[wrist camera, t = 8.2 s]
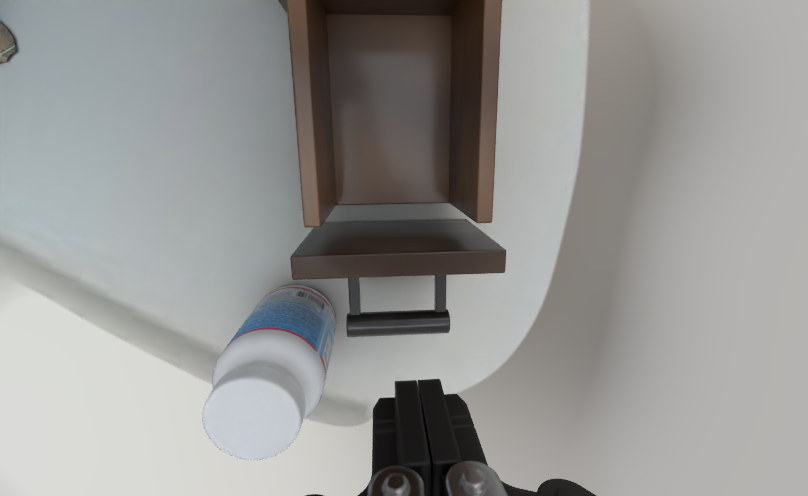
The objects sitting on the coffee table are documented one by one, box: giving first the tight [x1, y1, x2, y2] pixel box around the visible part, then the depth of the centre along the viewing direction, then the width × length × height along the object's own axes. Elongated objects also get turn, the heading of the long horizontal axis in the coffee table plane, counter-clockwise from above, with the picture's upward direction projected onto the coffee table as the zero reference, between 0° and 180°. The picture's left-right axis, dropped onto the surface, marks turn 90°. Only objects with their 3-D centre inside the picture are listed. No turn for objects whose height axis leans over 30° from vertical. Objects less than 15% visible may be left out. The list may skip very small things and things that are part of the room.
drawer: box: [287, 0, 506, 337], centre depth 22 cm, size 19×10×9 cm, turn 1°
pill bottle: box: [202, 285, 336, 460], centre depth 24 cm, size 6×6×11 cm
